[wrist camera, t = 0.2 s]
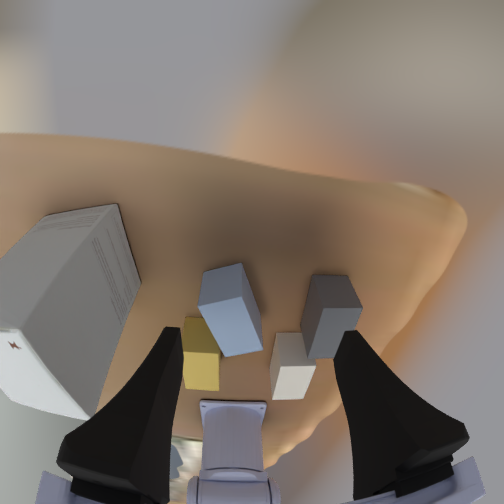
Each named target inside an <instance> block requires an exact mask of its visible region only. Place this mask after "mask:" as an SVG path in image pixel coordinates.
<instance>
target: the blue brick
mask: <svg viewBox="0 0 504 504" xmlns="http://www.w3.org/2000/svg"><path fill="white" fill-rule="evenodd" d="M198 308H199V310H200V312H201V314H202V316H203V317H204V319H205V321H206V323H207V325H208V327H209V329H210V331H211V332H212V334H213V336H214V338H215V340H216V341H217V343H218V345H219V347H220V349H221V350H222V352H223V354H224V356H225V357H228V356H234V355H239V354H245V353H250V352H255V351H260V350H263V340H262V327H261V315H260V312H259V309H258V306H257V304H256V301H255V298H254V295H253V293H252V290H251V287H250V284H249V282H248V279H247V276H246V273H245V271H244V268H243V265H242V263H238V264H234V265H230V266H226V267H222V268H218V269H214V270H210V271H206V272H204V273H203V278H202V284H201V290H200V295H199V301H198Z"/></svg>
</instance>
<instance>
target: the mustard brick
mask: <svg viewBox="0 0 504 504" xmlns="http://www.w3.org/2000/svg"><path fill="white" fill-rule="evenodd" d="M182 347H183V354H184V364H183V376H184V381H185V387H186V389H196V390H211V391H219V378H220V347H219V345H218V343H217V341H216V340H215V338H214V336H213V334H212V332H211V331H210V329H209V327H208V325H207V323H206V321H205V319H204V318H196V317H186V319H185V324H184V329H183V335H182Z"/></svg>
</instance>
